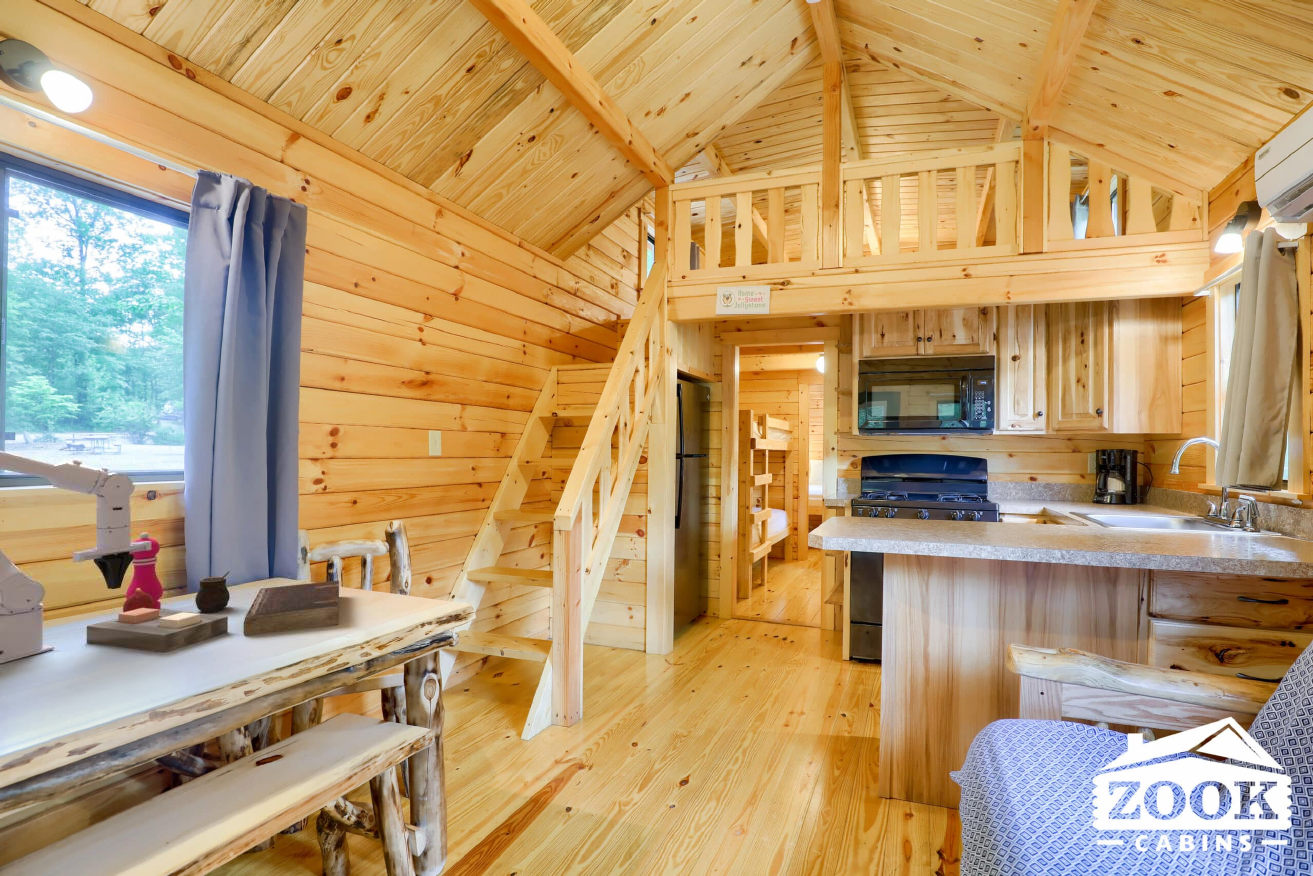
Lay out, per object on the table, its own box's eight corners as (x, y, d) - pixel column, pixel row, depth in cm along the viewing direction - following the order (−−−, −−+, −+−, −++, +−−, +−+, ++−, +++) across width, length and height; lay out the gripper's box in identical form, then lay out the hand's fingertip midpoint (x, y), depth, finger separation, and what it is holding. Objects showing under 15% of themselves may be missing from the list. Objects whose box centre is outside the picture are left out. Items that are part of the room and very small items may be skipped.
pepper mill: (141, 616, 153) (140, 535, 153) (118, 614, 155) (118, 533, 155) (170, 608, 160) (170, 530, 160) (148, 606, 162) (148, 529, 162)
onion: (160, 619, 151) (161, 585, 151) (138, 626, 146) (139, 591, 146) (138, 618, 152) (139, 585, 152) (116, 625, 146) (116, 591, 146)
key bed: (164, 652, 128) (164, 635, 128) (86, 642, 134) (86, 626, 134) (227, 632, 142) (227, 616, 142) (154, 623, 147) (154, 609, 147)
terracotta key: (135, 629, 136) (135, 615, 136) (118, 627, 138) (118, 613, 138) (158, 623, 141) (159, 609, 141) (142, 621, 142) (142, 608, 142)
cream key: (177, 634, 133) (177, 620, 133) (159, 632, 134) (159, 618, 134) (199, 627, 138) (200, 614, 138) (182, 625, 139) (182, 612, 139)
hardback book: (259, 606, 165) (259, 587, 165) (339, 598, 173) (339, 580, 173) (243, 638, 139) (243, 615, 139) (338, 627, 147) (338, 605, 147)
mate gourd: (202, 607, 162) (203, 568, 162) (235, 605, 164) (236, 567, 164) (189, 614, 155) (190, 574, 155) (224, 613, 157) (225, 573, 157)
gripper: (89, 532, 131) (90, 597, 131) (161, 523, 145) (161, 581, 145) (65, 531, 133) (66, 595, 133) (138, 521, 147) (138, 579, 147)
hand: (114, 588), depth 139 cm, fingers closed
